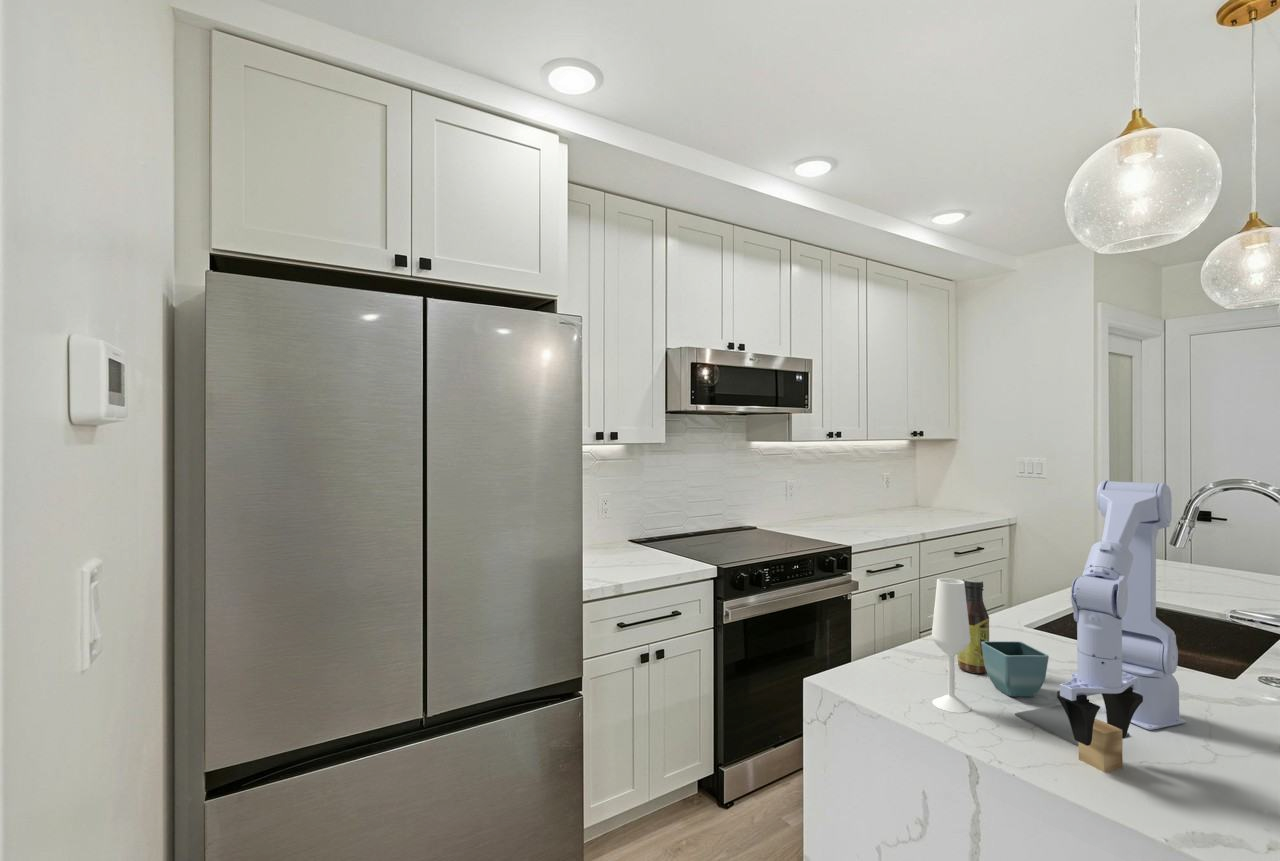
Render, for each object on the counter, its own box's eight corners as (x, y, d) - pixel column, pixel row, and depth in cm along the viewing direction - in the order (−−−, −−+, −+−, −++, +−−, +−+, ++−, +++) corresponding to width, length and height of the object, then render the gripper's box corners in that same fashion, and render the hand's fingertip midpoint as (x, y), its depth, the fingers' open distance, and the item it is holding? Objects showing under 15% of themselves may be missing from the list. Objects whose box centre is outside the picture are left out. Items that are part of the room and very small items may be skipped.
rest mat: (1062, 706, 117) (1062, 704, 117) (1129, 735, 106) (1129, 733, 106) (1015, 715, 114) (1015, 712, 114) (1078, 746, 102) (1078, 743, 102)
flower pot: (1021, 683, 128) (1020, 640, 129) (1050, 701, 120) (1050, 655, 120) (980, 683, 128) (979, 640, 128) (1006, 701, 119) (1006, 656, 119)
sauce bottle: (987, 677, 131) (986, 585, 132) (955, 670, 135) (954, 581, 135) (991, 668, 137) (991, 579, 137) (960, 662, 140) (960, 575, 141)
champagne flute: (932, 695, 122) (932, 575, 123) (970, 702, 119) (970, 579, 120) (931, 708, 117) (930, 582, 117) (971, 715, 113) (970, 586, 114)
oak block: (1096, 755, 99) (1096, 718, 99) (1122, 768, 95) (1122, 729, 96) (1078, 759, 98) (1078, 722, 98) (1104, 772, 94) (1103, 733, 94)
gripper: (1106, 640, 103) (1106, 721, 103) (1041, 649, 99) (1042, 733, 98) (1152, 654, 96) (1153, 741, 96) (1085, 664, 92) (1085, 755, 92)
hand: (1099, 738), depth 97 cm, fingers open, 7 cm apart
